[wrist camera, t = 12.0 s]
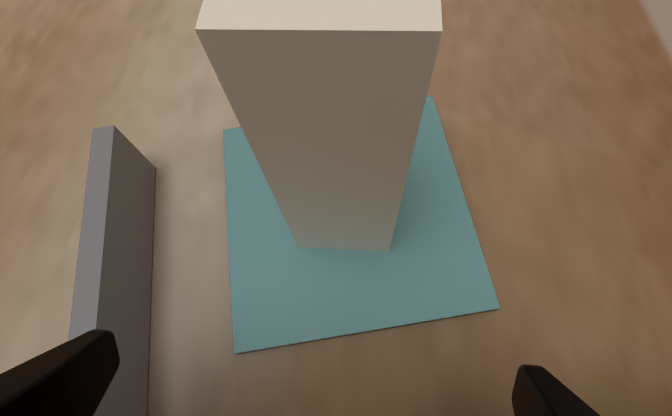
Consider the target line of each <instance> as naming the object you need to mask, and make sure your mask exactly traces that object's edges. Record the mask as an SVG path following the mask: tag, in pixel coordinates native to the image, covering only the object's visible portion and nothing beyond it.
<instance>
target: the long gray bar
mask: <svg viewBox="0 0 672 416" xmlns="http://www.w3.org/2000/svg"><path fill="white" fill-rule="evenodd" d="M155 169H156V168H155V167H154V166H153V165H152V164H151V163H150V162H149V161H148V160H147V159H146V158H145V157H144V155H143V154H142V153H141V152H140V151H139V150H138V149H137V148H136V147H135V146H134V145H133V144H132V143H131V142H130V141H129V140H128V139H127V138H126V137H125V136H124V135H123V134H122V133H121V132H120V131H119V130H118V129H117V128H116V127H115V126H108V127H102V128H95V129H93V130H92V139H91V147H90V156H89V165H88V173H87V182H86V190H85V199H84V208H83V216H82V225H81V234H80V242H79V251H78V259H77V268H76V277H75V285H74V294H73V303H72V311H71V320H70V328H69V337H68V341H69V340H71V339H74V338H76V337H78V336H80V335H82V334H84V333H86V332H88V331H90V330H93V329H103V330H110V331H112V332H113V333H114V335H115V339H116V343H117V347H118V351H119V355H120V364H119V368H118V370H117V372H116V374H115V376H114V378H113V380H112V382H111V383H110V385H109V387H108V389H107V391H106V393H105V395H104V397H103V399H102V401H101V402H100V404H99V406H98V408H97V410H96V412H95V414H94V416H147V395H148V367H149V339H150V310H151V282H152V254H153V226H154V198H155Z"/></svg>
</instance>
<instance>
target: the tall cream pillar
mask: <svg viewBox="0 0 672 416" xmlns="http://www.w3.org/2000/svg"><path fill="white" fill-rule="evenodd" d="M195 30H196V33H197V35H198V37H199V39H200V41H201V43H202V45H203V47H204V49H205V52H206V54H207V56H208V58H209V60H210V62H211V64H212V66H213V68H214V71H215V73H216V75H217V77H218V79H219V81H220V83H221V85H222V87H223V90H224V92H225V94H226V96H227V98H228V100H229V102H230V104H231V106H232V109H233V111H234V113H235V115H236V117H237V119H238V121H239V123H240V125H241V128H242V130H243V132H244V134H245V136H246V138H247V140H248V142H249V144H250V146H251V149H252V151H253V153H254V155H255V157H256V159H257V161H258V163H259V165H260V168H261V170H262V172H263V174H264V176H265V178H266V180H267V182H268V184H269V187H270V189H271V191H272V193H273V195H274V197H275V199H276V201H277V203H278V206H279V208H280V210H281V212H282V214H283V216H284V218H285V220H286V222H287V225H288V227H289V229H290V231H291V233H292V235H293V237H294V239H295V241H296V244H297V246H298V247H305V248H325V249H344V250H363V251H383V252H389V250H390V246H391V241H392V237H393V233H394V229H395V225H396V221H397V217H398V212H399V208H400V204H401V200H402V196H403V192H404V188H405V183H406V179H407V175H408V171H409V167H410V163H411V159H412V155H413V150H414V146H415V142H416V138H417V134H418V130H419V126H420V121H421V117H422V113H423V109H424V105H425V101H426V97H427V93H428V88H429V84H430V80H431V76H432V72H433V68H434V64H435V59H436V55H437V51H438V47H439V43H440V39H441V35H442V14H441V0H203V3H202V6H201V10H200V13H199V17H198V20H197V24H196V27H195Z"/></svg>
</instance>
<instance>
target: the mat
mask: <svg viewBox="0 0 672 416" xmlns="http://www.w3.org/2000/svg"><path fill="white" fill-rule="evenodd" d="M223 137H224V158H225V179H226V200H227V221H228V243H229V264H230V285H231V306H232V327H233V348H234V354H240V353H245V352H251V351H257V350H263V349H269V348H275V347H281V346H287V345H292V344H298V343H304V342H310V341H316V340H322V339H328V338H334V337H339V336H345V335H351V334H357V333H363V332H369V331H375V330H381V329H386V328H392V327H398V326H404V325H410V324H416V323H422V322H428V321H433V320H439V319H445V318H451V317H457V316H463V315H469V314H475V313H480V312H486V311H492V310H498V309H500V306H499V303H498V300H497V296H496V293H495V290H494V287H493V284H492V281H491V278H490V275H489V272H488V268H487V265H486V262H485V259H484V256H483V253H482V250H481V247H480V244H479V241H478V237H477V234H476V231H475V228H474V225H473V222H472V219H471V216H470V213H469V209H468V206H467V203H466V200H465V197H464V194H463V191H462V188H461V185H460V181H459V178H458V175H457V172H456V169H455V166H454V163H453V160H452V157H451V154H450V150H449V147H448V144H447V141H446V138H445V135H444V132H443V129H442V126H441V122H440V119H439V116H438V113H437V110H436V107H435V104H434V101H433V98H432V96H428V97H426V101H425V105H424V109H423V113H422V117H421V121H420V126H419V130H418V134H417V138H416V142H415V146H414V150H413V155H412V159H411V163H410V167H409V171H408V175H407V179H406V183H405V188H404V192H403V196H402V200H401V204H400V208H399V212H398V217H397V221H396V225H395V229H394V233H393V237H392V241H391V246H390V250H389V252H383V251H363V250H344V249H325V248H305V247H298V246H297V244H296V241H295V239H294V237H293V235H292V233H291V231H290V229H289V227H288V225H287V222H286V220H285V218H284V216H283V214H282V212H281V210H280V208H279V206H278V203H277V201H276V199H275V197H274V195H273V193H272V191H271V189H270V187H269V184H268V182H267V180H266V178H265V176H264V174H263V172H262V170H261V168H260V165H259V163H258V161H257V159H256V157H255V155H254V153H253V151H252V149H251V146H250V144H249V142H248V140H247V138H246V136H245V134H244V132H243V130H242V128H241V127H238V128H232V129H226V130H223Z"/></svg>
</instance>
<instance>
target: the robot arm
mask: <svg viewBox="0 0 672 416" xmlns="http://www.w3.org/2000/svg"><path fill="white" fill-rule="evenodd" d="M119 364H120V355H119V351H118V347H117V343H116V339H115V335H114V333H113V332H112V331H110V330H103V329H93V330H90V331H88V332H86V333H84V334H82V335H80V336H78V337H76V338H74V339H71V340H69V341H67V342H65V343H63V344H61V345H59V346H57V347H55V348H53V349H51V350H49V351H47V352H45V353H43V354H41V355H39V356H37V357H35V358H32V359H30V360H28V361H26V362H24V363H22V364H20V365H18V366H16V367H14V368H12V369H10V370H8V371H6V372H4V373H2V374H0V416H94V414H95V412H96V410H97V408H98V406H99V404H100V402H101V401H102V399H103V397H104V395H105V393H106V391H107V389H108V387H109V385H110V383H111V382H112V380H113V378H114V376H115V374H116V372H117V370H118V368H119ZM512 405H513V409H514V414H515V416H600V415H599V414H598V413H597V412H595V411H594V410H593V409H592V408H591V407H590V406H588V405H587V404H586V403H585V402H584V401H582V400H581V399H580V398H579V397H578V396H577V395H575V394H574V393H573V392H572V391H571V390H569V389H568V388H567V387H566V386H565V385H564V384H562V383H561V382H560V381H559V380H558V379H556V378H555V377H554V376H553V375H552V374H551V373H549V372H548V371H547V370H546V369H545V368H543V367H541V366H538V365H526V364H523V365H521V366H520V367H519V369H518V372H517V376H516V380H515V384H514V388H513V392H512Z"/></svg>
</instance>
